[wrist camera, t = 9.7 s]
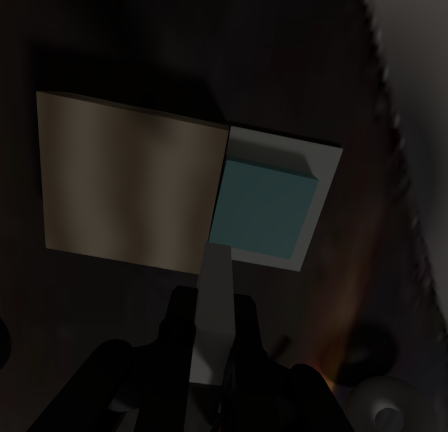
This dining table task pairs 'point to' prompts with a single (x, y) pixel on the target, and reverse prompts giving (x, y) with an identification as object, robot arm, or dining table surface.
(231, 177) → the teal block
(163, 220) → the serving board
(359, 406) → the donut
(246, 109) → the dining table surface
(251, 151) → the mat
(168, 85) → the dining table surface
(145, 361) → the robot arm
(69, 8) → the dining table surface
